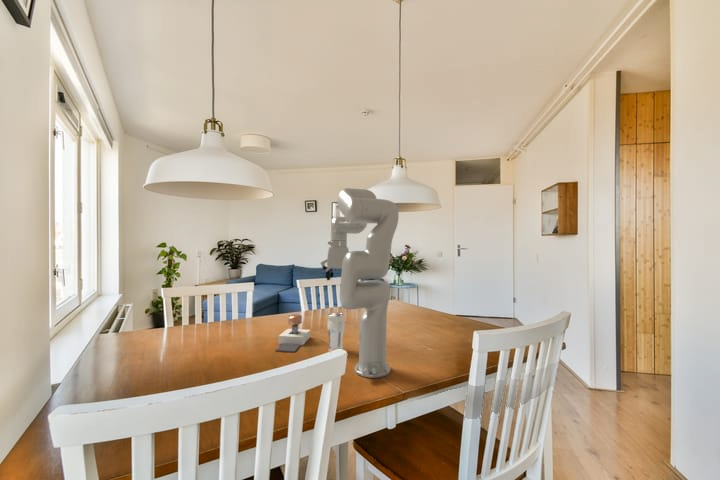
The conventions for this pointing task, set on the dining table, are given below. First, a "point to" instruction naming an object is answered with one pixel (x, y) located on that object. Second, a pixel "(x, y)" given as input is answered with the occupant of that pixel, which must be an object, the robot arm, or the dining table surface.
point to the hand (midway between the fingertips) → (338, 280)
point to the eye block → (294, 337)
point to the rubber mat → (288, 348)
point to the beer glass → (335, 330)
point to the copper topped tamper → (294, 322)
